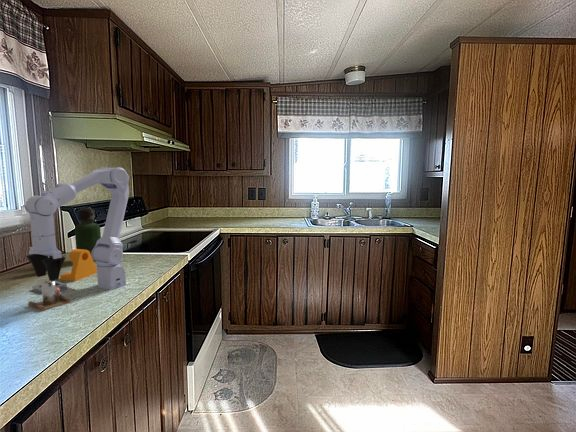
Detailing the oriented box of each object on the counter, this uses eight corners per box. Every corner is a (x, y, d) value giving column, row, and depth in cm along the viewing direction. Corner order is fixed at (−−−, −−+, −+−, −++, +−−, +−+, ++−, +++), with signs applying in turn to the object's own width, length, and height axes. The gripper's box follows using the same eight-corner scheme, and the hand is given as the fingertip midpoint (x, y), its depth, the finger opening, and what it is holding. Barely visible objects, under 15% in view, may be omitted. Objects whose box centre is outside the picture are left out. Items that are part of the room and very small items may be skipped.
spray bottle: (74, 263, 150) (70, 210, 147) (80, 258, 160) (76, 207, 156) (99, 262, 153) (96, 209, 150) (104, 256, 163) (101, 207, 160)
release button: (61, 295, 111) (61, 288, 111) (53, 297, 109) (53, 290, 109) (57, 293, 112) (57, 287, 112) (50, 296, 110) (49, 289, 110)
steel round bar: (60, 301, 103) (58, 280, 102) (48, 306, 100) (46, 284, 99) (52, 300, 104) (50, 279, 103) (40, 304, 101) (38, 282, 100)
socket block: (77, 292, 114) (76, 286, 114) (51, 300, 107) (51, 293, 107) (56, 286, 121) (56, 280, 120) (31, 292, 114) (30, 286, 113)
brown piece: (70, 305, 103) (70, 298, 103) (42, 314, 96) (41, 307, 96) (57, 300, 107) (56, 293, 107) (28, 308, 100) (28, 302, 100)
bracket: (82, 274, 135) (80, 245, 134) (97, 275, 134) (95, 246, 132) (59, 282, 125) (56, 252, 123) (75, 283, 123) (73, 253, 122)
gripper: (16, 234, 99) (21, 277, 101) (40, 239, 92) (45, 285, 94) (43, 231, 105) (46, 271, 107) (67, 235, 98) (71, 279, 100)
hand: (47, 278), depth 101 cm, fingers open, 7 cm apart
